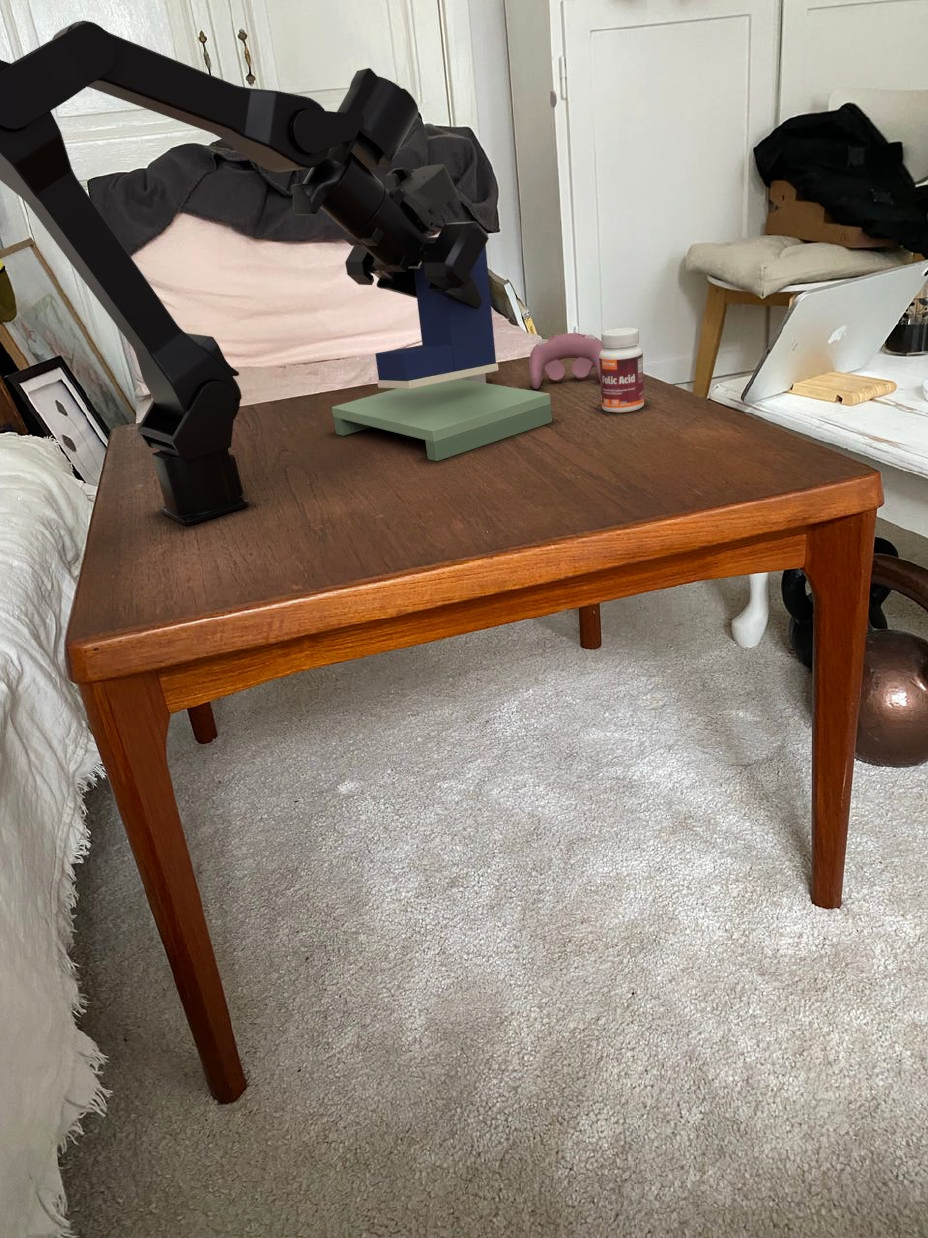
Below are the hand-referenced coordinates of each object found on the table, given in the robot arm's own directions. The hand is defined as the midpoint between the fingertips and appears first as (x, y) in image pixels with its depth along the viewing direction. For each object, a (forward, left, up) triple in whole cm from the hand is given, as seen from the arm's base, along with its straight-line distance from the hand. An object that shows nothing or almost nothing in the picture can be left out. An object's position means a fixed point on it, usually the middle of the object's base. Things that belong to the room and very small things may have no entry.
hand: (463, 303), depth 104 cm
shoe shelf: (-4, +1, -13) cm, 14 cm away
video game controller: (+18, +3, -13) cm, 22 cm away
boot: (-5, -1, -7) cm, 9 cm away
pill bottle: (+12, -12, -13) cm, 21 cm away
